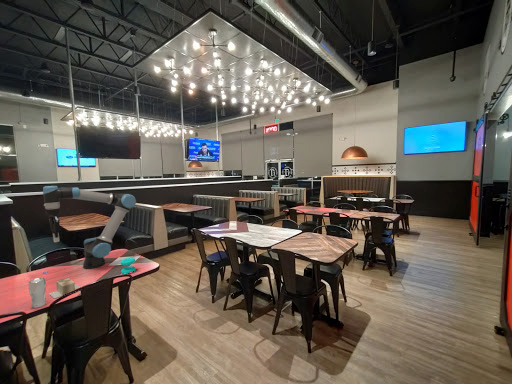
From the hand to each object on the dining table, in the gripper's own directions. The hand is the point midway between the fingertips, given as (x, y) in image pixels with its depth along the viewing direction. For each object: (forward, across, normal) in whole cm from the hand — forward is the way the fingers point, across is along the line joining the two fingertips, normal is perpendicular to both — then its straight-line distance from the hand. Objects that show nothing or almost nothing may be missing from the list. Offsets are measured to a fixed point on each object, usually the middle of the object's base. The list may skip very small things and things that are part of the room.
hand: (56, 241), depth 155 cm
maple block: (+25, +15, -4) cm, 30 cm away
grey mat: (+29, +21, -4) cm, 36 cm away
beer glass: (+29, +27, -18) cm, 43 cm away
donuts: (+30, +26, +33) cm, 52 cm away
